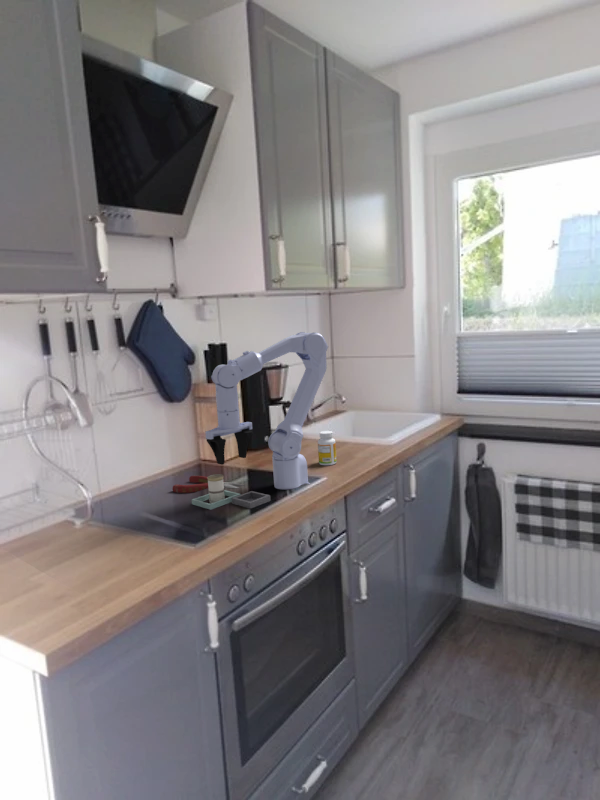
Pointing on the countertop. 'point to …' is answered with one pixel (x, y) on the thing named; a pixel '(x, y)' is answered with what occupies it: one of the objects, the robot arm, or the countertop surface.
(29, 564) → the countertop surface
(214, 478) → the cylinder
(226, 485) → the pliers
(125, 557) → the countertop surface
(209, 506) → the teal rectangular frame
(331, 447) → the supplement bottle
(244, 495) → the socket block
